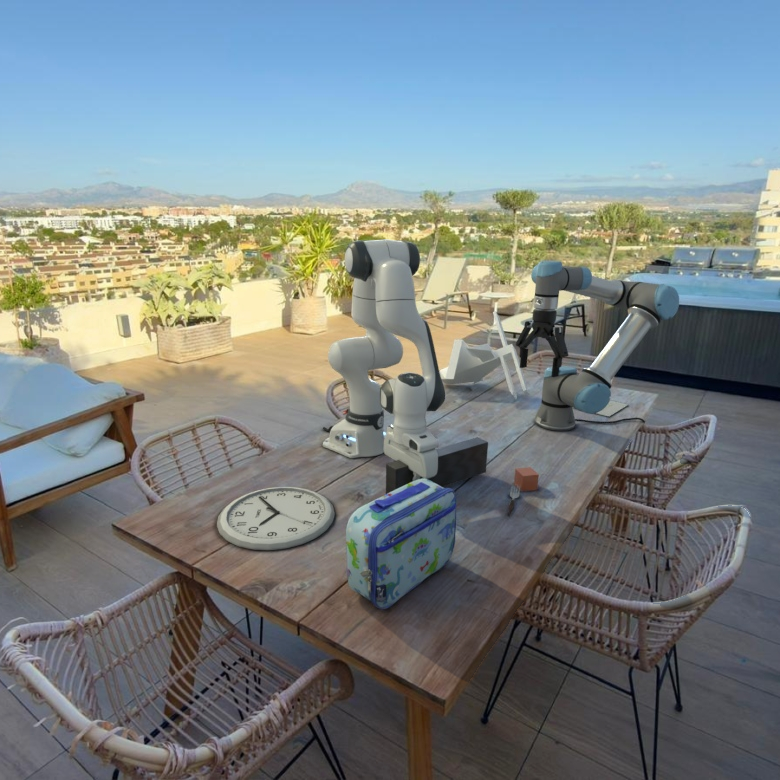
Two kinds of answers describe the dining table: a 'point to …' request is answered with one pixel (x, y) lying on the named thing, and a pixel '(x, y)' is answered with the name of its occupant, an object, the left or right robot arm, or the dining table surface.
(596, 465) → the dining table surface
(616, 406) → the invitation card
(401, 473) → the bar
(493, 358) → the white plastic object
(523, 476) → the terracotta block
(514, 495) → the fork
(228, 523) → the wall clock
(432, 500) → the lunch box
